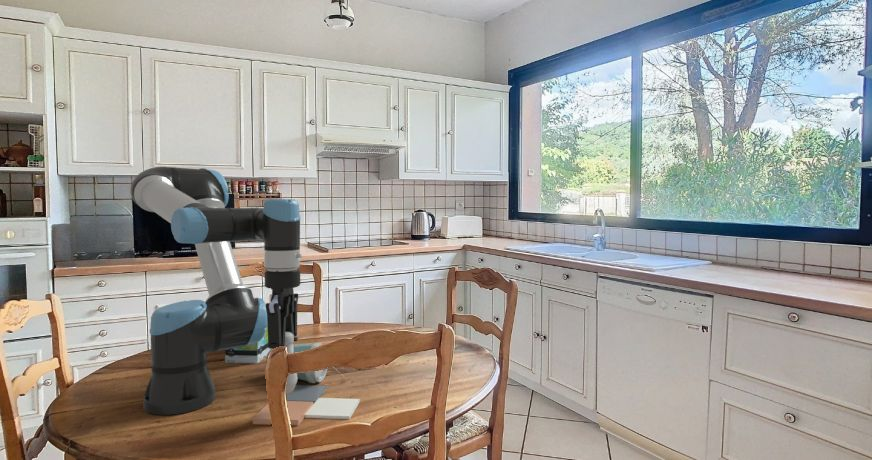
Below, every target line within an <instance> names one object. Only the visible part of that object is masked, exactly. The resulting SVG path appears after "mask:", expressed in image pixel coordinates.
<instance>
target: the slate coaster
mask: <svg viewBox="0 0 872 460" xmlns="http://www.w3.org/2000/svg"><path fill="white" fill-rule="evenodd" d="M328 388H329V386H328V385H305V384H303V385H302V384H296V385H295V388H294V390H293V391H292V392H291V393H287V401H304V402H313V404H314V403H315V402H316V401H317V399H318V398H322V396H323V395H324V394H325V392H326V390H328Z"/></svg>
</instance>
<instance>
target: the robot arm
mask: <svg viewBox="0 0 872 460" xmlns="http://www.w3.org/2000/svg"><path fill="white" fill-rule="evenodd" d="M129 189H130V190H129V191H130V196H131V198H132V201H133V202H134V204H136V205H137V206H138V207H140V208H141V209H143V210H144V211H147V212H150V213H155V214H157V215H158V216H159V217H161V218H162V219H163V220H165V221H167V222H168V223H170V228H171V233H172V235H173V238H174V240H175V241H176V242H177V243H179V244H192V245H194V247H195V251H196V254H197V257H198V260H199V265H200V266H201V270H202V275H203V278H204V282H205V286H206V289H207V292H208V297H207V298H206V299H205V300H201V299H192V300H184V301H183V300H182V301H177V302H173V303H169V304H166V305H163V306H161V307H159V308H158V309H156V310H154V311H153V313H152V314H151V316H150V328H149V334H150V360H151V361H150V362H151V363H150V364H151V367H150V368H151V372H150V373H151V375H150V377H149V381H148V382H147V383H148V384H147V386H146V390H145V392H144V396H143V400H142V401H143V404H142V405H143V408H142V409H143V410H144V412H146V413H148V414H151V415H158V416H159V415H160V416H166V415H167V416H168V415H170V416H171V415H178V414H183V413H189V412H192V411H196V410H199V409H202V408H204V407H207V406H208V405H209V404H211V403H213V402H214V401H215V399H216V387H215V384H214V382H213V378H212V376H211V373H210V371H209V369H208V361H207V358H208V354H211V353H216V352H220V351H225V350H227V349H232V348H237V347H245V346H247V345H250V344H254V343H257V342H259V341H260V340H261V339H262V338H263V337H264V335H265V333H266V330H267V326H268V348H269V349H274V348H276V347H279V346H285V332H291V333H292V334H293V336H294V341H293V343H292V344H291V346H292V351H293V345H294V342H298V339H299V337H297V336H298V303H299V293H294V292H295V291H294V288H298V287H300V286H301V270H300V269H299V267H300V266H301V259H302V257H303V255H302V254H301V253H300V252H301V249H300V248H301V247H300V246H301V215H300V203H299V201H298V200H297V199H294V198H293V199H292V198H268V199H266V200H265V201H264V202H263V207H226V206H227V205H228V203H229V197H230V196H229V186H228V184H227V181H226V179H225V177H224V176H223V175H222V173H220V171H217V170H214V169H207V168H204V167H203V168H190V167H189V168H188V167H173V166H155V167H151V168H148V169H145V170H143V171H141V172H140V173H138V174H137V175H136V176H135V177H134V179H133V180H132V181H131V184H130V188H129ZM250 241H253V242H254V241H263V243H264V252H263V256H264V258H263V266H264V268H265V269H266V270H265V272H264V287H265V288H267V289H270V290H271V296H270V297H271V298H270V302H266V301H265V300H264V299H262V298H260V297H254V294H253V291H252V289H251V288H250V287H248V286H246V285H244V284H243V279H242V277H241V274H240V270H239V267H238V266H239V265H238V264H237V259H236V258H235V253H234V251H233V248H232V243H231V242H250Z"/></svg>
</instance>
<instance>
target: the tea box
mask: <svg viewBox="0 0 872 460" xmlns="http://www.w3.org/2000/svg"><path fill="white" fill-rule="evenodd" d="M269 350H270V349H269V348H268V326H267V330H266V333H265V335H264V337H263V338H262V339H261V340H260V341H259V342H257V343H254V344H250V345H247V346H245V347H237V348H232V349H227V350H224V351H225V352H224V353H225V355H224V362H225V364H230V363H231V364H258V363H260V362H261V361H262V360H263V359H264V358H265V357H267V354H268V352H269Z"/></svg>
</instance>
